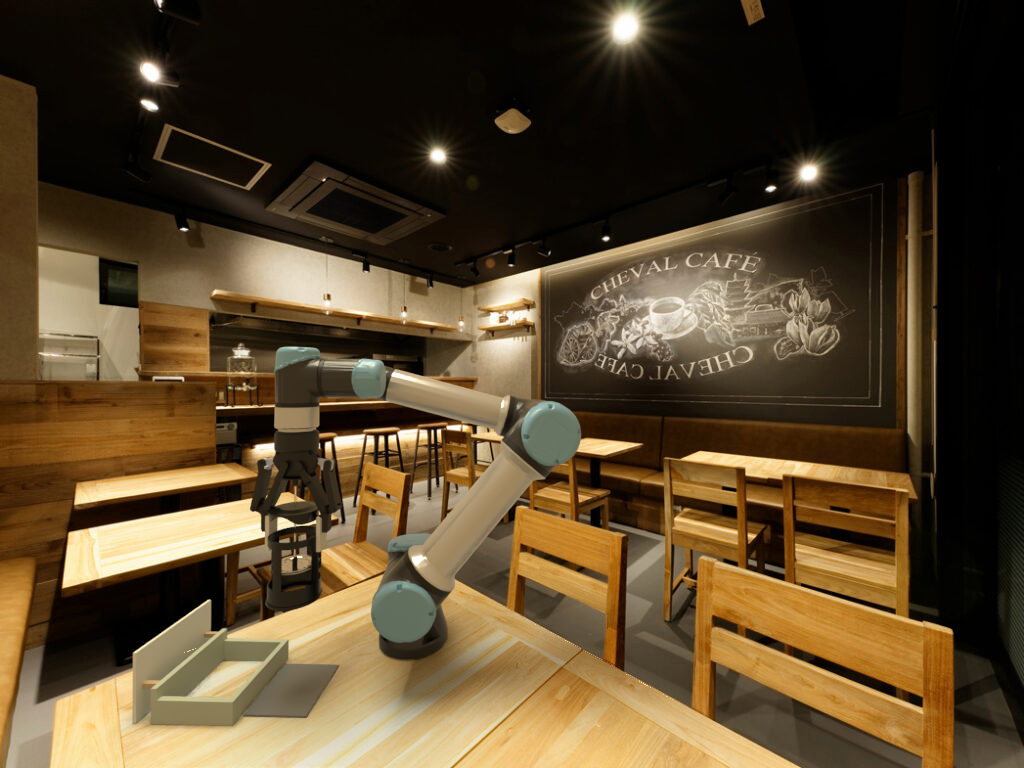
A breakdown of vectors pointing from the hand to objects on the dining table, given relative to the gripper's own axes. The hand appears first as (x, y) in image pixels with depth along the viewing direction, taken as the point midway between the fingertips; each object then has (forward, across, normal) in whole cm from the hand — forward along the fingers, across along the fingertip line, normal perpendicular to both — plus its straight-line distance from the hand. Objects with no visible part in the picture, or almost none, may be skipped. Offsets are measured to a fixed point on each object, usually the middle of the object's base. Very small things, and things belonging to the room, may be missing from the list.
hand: (296, 548), depth 78 cm
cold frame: (+27, +15, 0) cm, 30 cm away
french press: (+9, 0, 0) cm, 9 cm away
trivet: (+27, 0, 0) cm, 27 cm away
